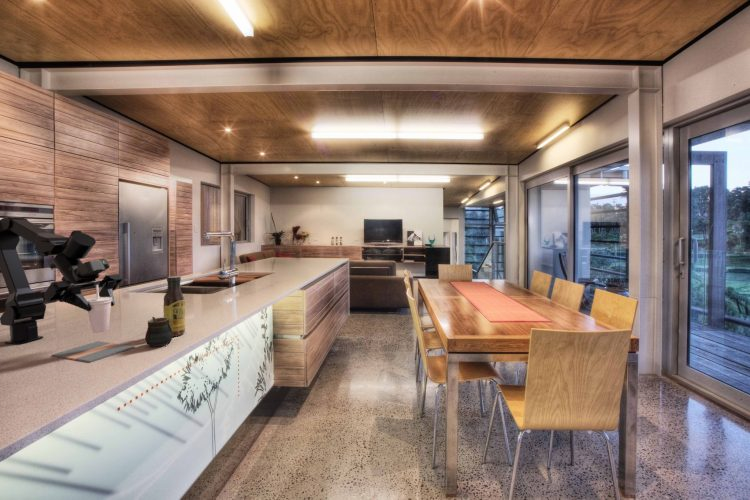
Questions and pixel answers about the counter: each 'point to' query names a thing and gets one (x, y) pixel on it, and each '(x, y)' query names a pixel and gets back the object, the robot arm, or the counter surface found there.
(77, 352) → the slate board
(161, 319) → the mate gourd
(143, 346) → the counter surface
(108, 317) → the smoothie
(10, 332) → the robot arm
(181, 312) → the sauce bottle
